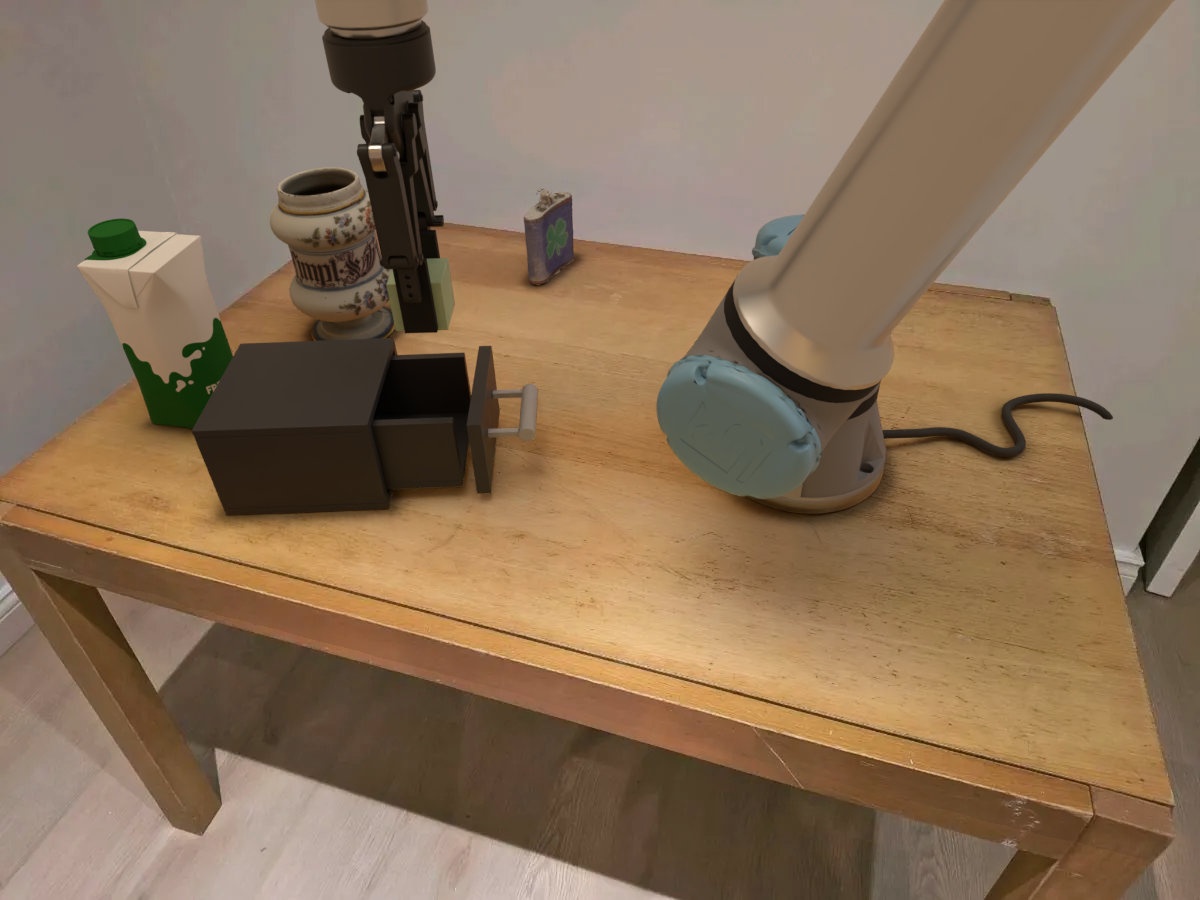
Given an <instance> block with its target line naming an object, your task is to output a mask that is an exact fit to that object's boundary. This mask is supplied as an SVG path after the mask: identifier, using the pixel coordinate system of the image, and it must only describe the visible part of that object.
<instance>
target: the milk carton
mask: <svg viewBox="0 0 1200 900" xmlns="http://www.w3.org/2000/svg"><path fill="white" fill-rule="evenodd" d="M87 235H88V238H89V240H90V242H91V245H92V248H93V251H92V252H91V254H90V255H88V256H86V257H85V258H84V261H82V262H80V263H79V264H77V265H76V266H77V268H76V269H78V271H79V272H80V274H81V275H82V276H83V278H84V279H85V281H86V283H88V285H89V286H90V288H91V289H92V291H93V292H94V293H95V295H96V297H97V298H98V300H99V301H100V303H101V304H102V305H103V307H104V309H105V310H106V313H107V315H108V317H109V320H110V323H111V324H112V327H113V328H114V329H113V330H114V331H115V333H116V336H117V338H118V340H119V342H120V345H121V347H122V349H123V351H124V354H125V356H126V359H127V361H128V363H129V365H130V367H131V370H132V372H133V374H134V376H135V379H136V381H137V383H138V386H139V390H140V392H141V395H142V398H143V402H144V404H145V406H146V411H147V413H148V416H149V418H150V421H151V424H153V425H162V426H171V427H179V428H187V429H193V428H194V426H195V424H196V422H197V421H198V419H199V417H200V415H201V413H202V412H203V410H204V408H205V406H206V404H207V403H208V401H209V399H210V397H211V395H212V394H213V392H214V390H215V388H216V387H217V385H218V383H219V381H220V379H221V378H222V376H223V374H224V372H225V370H226V369H227V367H228V365H229V363H230V361H231V360H232V358H233V356H234V354H233V352H232V349H231V346H230V343H229V339H228V338H227V337H228V336H227V334H226V332H225V331H226V330H225V329H224V326H223V323H222V320H221V316H220V314H219V311H218V307H217V305H216V302H215V300H214V296H213V294H212V291H211V288H210V285H209V281H208V277H207V271H206V264H205V257H204V252H203V251H204V249H203V244H202V237H201V235H196V234H195V235H194V234H181V233H180V234H178V233H177V232H174V231H151V230H150V231H149V230H139V229H138V227H137V225H136V222H135V221H134V220H133V219H130V218H111V219H107V220H103V221H99V222H98V223H95V224H93V225H92V226H91V227H89V229H88V230H87Z"/></svg>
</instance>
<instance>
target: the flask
mask: <svg viewBox="0 0 1200 900" xmlns="http://www.w3.org/2000/svg"><path fill="white" fill-rule="evenodd" d="M535 194H536V195H538V194H539V195H540V197H539V199H538V202H537V203H535V205H534V206H533V207H531V208H530V209H529V210H528V211H527V212H525V214H524V215H523V225H524V235H525V248H526V260H527V261H526V263H527V272H528V274H527V277H528V281H529V284H530V285H533V286H534V285H536V286H538V287H539V286H541V285H543V284H546V283H548V282H549V281H550V279H551V278H553V277H554V276H556V275H558V274H559V273H560V272H561V269H565V267H566V266H568V265H570V264H571V263H573V262H574V261H575V252H574V247H575V246H574V223H573V222H574V221H573V220H574V219H573V196H572V194H571V193H570V192H567V191H561V190H560V191H555V192H553V193H552V192H550V191H549V190H548V188H544V187H541V188H539V189H537V191H536V193H535Z"/></svg>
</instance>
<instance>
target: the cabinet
mask: <svg viewBox="0 0 1200 900" xmlns="http://www.w3.org/2000/svg"><path fill="white" fill-rule="evenodd" d="M392 355H398V351H397V346H396V341H395V338H394V337H387V338H379V339H352V340H325V341H314V340H307V341H306V340H303V341H301V340H299V341H275V342H274V341H273V342H251V343H250V342H248V343H247V342H246V343H240V344H239V346H238V348H237V349H236V351H235V352H234V354H233V358H232V360H231V361H230V363H229V365H228V367H227V369H226V370H225V372H224V374H223V376H222V378H221V379H220V381H219V383H218V385H217V387H216V388H215V390H214V392H213V394H212V395H211V397H210V399H209V401H208V403H207V404H206V406H205V408H204V410H203V412H202V413H201V415H200V417H199V419H198V421H197V422H196V424H195V426H194V428H192V430H191V433H192V435H193V438H194V441H195V444H196V445H197V449H198V450H199V453H200V455H201V458H202V461H203V462H204V465H205V468H206V470H207V473H208V475H209V477H210V479H211V482H212V485H213V487H214V489H215V492H216V494H217V497H218V499H219V502H220V504H221V506H222V508H223V511H224V514H225V516H244V515H245V516H247V515H248V516H249V515H250V516H251V515H275V514H276V515H277V514H299V513H325V512H328V513H329V512H352V511H353V512H356V511H381V510H383V511H384V510H389V509H390V506H391V505H390V504H391V501H392V497H393V492H394V489H390V490H386V486H385V482H384V478H383V473H382V469H381V465H380V461H379V457H378V453H377V449H376V445H375V441H374V437H373V433H372V429H371V424H372V420H373V417H374V414H375V410H376V407H377V404H378V400H379V397H380V394H381V390H382V387H383V384H384V380H385V377H386V374H387V370H388V367H389V364H390V360H391V357H392Z"/></svg>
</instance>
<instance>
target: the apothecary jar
mask: <svg viewBox="0 0 1200 900" xmlns="http://www.w3.org/2000/svg"><path fill="white" fill-rule="evenodd" d="M276 191H277V197H278V199H277V201H278V202H277V203H276V204H275V205H274V207H273V209H272V210H271V213H270V215H269V226H270V229H271V231H272V233H273V235H274V236H275V237H276V238H277V239H278V240H280V241H281V242H282V243H284V244H286V245H287V247H288V250H289V253H290V256H291V260H292V265H293V269H294V273H295V275H294V276H293V278H292V280H291V282H290V285H289V298H290V300H291V302H292V304H293V306H294V307H295V308H296V309H297V310H298V311H299V312H301V313H302V314H304V315H306V316H308V317H309V318H312V319H314V320H316V321H315V322H314V324H313V326H312V328H311V338H312V339H313V341H325V340H352V339H379V338H389V336H391V335H392V333H393V332H394V331H395V330H396V329H395V324H394V319H393V315H392V310H391V309H389V308H387V307H385V306H386V305H388V303H390V300H389V295H388V290H387V285H386V284H387V282H388V279H389V277H390V274H391V272H392V269H385V268H384V266H381V265H380V262H379V260H380V259H381V258H382V256H381V252H380V247H379V242H378V238H377V233H376V228H375V223H374V218H373V213H372V208H371V204H370V199H369V194H368V189H367V188H366V189H365V187H364V186H363V185H362V183H361V180H360V177H359V175H358V173H356V172H355V171H353V170H351V169H349V168H344V167H337V166H336V167H335V166H334V167H333V166H332V167H331V166H328V167H318V168H317V167H316V168H311V169H307V170H303V171H299V172H297V173H294V174H292V175H290V176H287V177H286V178H284V179H282V180H281V181H280V182H279V183H278V185H277V188H276Z"/></svg>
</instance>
